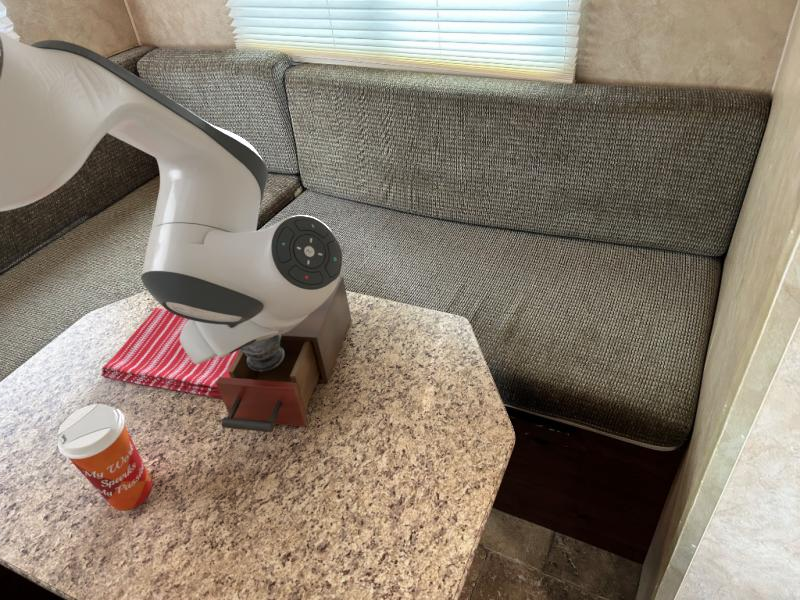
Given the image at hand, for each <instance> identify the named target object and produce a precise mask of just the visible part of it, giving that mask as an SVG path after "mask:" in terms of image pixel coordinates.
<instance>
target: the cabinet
mask: <svg viewBox="0 0 800 600" xmlns="http://www.w3.org/2000/svg"><path fill="white" fill-rule="evenodd" d="M346 289H347V288H346V284H345V280H344V276H343V275H341V277H340V279H339V281H338V283H337V285H336V287H335V289H334V291H333V292H332V294H331V295H330V296H329V297H328V299H327V300H326V301H325V302H324V303H323V304H322V305H321V306H320V307H318V308H317V309H316V310H315V311H313V312H312V313H310V314H309V315H308V316H307V317H306V318H305V319H304V320H303V321H302V322H301V323H299V324H298V325H297V326H296V327H295V328H293V329H292V330H290V331H288V332H286V333H284V334H281V339H286V340H302V341H313V344H314V348H315V352H316V356H317V360H318V364H319V367H320V371H321V373H320V375H319V378H318V380H317V383H323V384H329V382H330V379H331V377H332V374H333V371H334V368H335V365H336V363H337V361H338V358H339V356H340V352H341V350H342V347H343V345H344V342H345V339H346V336H347V334H348V331H349V327H350V325H351V323H352V316H351V311H350V310H351V309H350V306H349V300H348V295H347V290H346Z"/></svg>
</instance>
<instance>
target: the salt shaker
mask: <svg viewBox="0 0 800 600" xmlns="http://www.w3.org/2000/svg"><path fill="white" fill-rule="evenodd" d="M280 339H281V334H280V335H275V336H273V337H271V338H267V339H263V340H260V341H256V342H254V343H252V344H250V345H248V346H246V347H244V348H242V349H240V350H241V351H242V352H243V353H244V354H245V355H246V356H247V357H248V358H247V364H248V366H249V367H250V369H252V370H255V371H268V370H271V369H273V368H275V367H277V366H278V365H279V364H280V363H281V362H282V361H283V359H284V350H283V349H282V348H281V347H280Z"/></svg>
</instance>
